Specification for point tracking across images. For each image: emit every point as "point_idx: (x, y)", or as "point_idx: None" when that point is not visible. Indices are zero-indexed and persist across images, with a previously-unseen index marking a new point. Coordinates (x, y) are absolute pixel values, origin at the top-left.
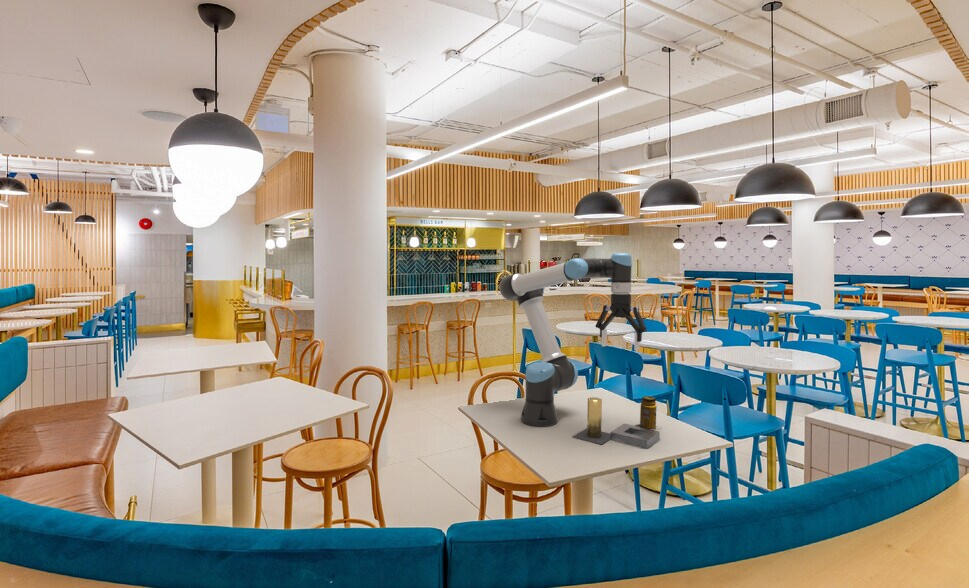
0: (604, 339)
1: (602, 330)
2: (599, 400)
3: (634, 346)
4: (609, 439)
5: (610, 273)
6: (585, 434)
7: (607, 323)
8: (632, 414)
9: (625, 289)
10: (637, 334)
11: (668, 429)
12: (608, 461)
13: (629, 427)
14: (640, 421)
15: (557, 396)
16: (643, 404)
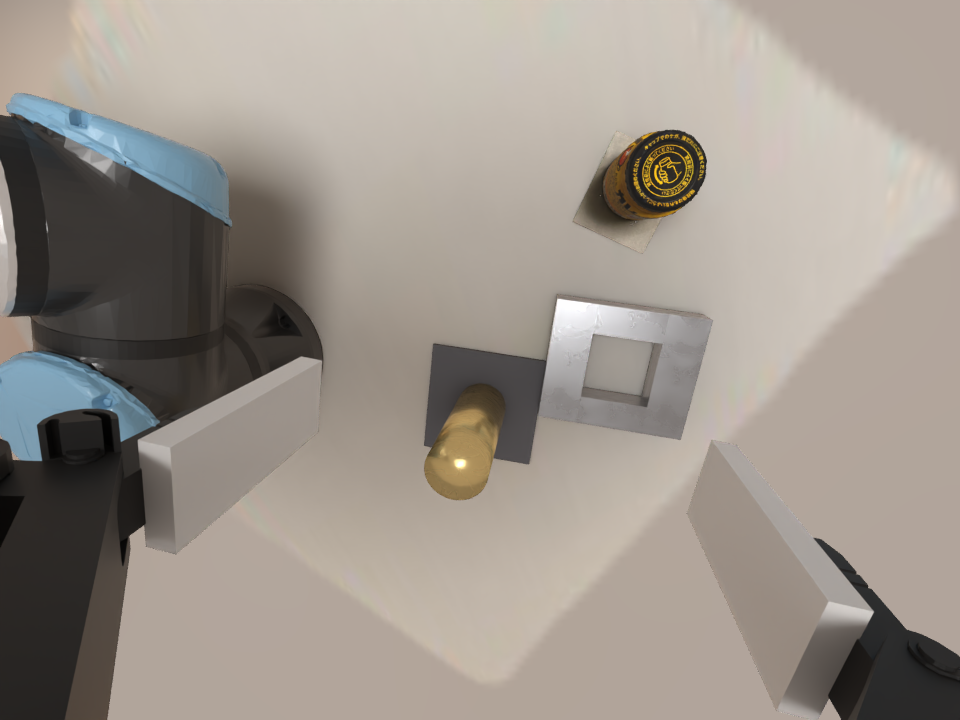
0: (274, 446)
1: (161, 545)
2: (481, 479)
3: (701, 542)
4: (537, 411)
5: None
6: (452, 409)
7: (109, 643)
8: (532, 34)
9: None
10: (823, 677)
11: (726, 165)
12: (584, 562)
13: (589, 334)
14: (608, 202)
15: None
16: (635, 207)
